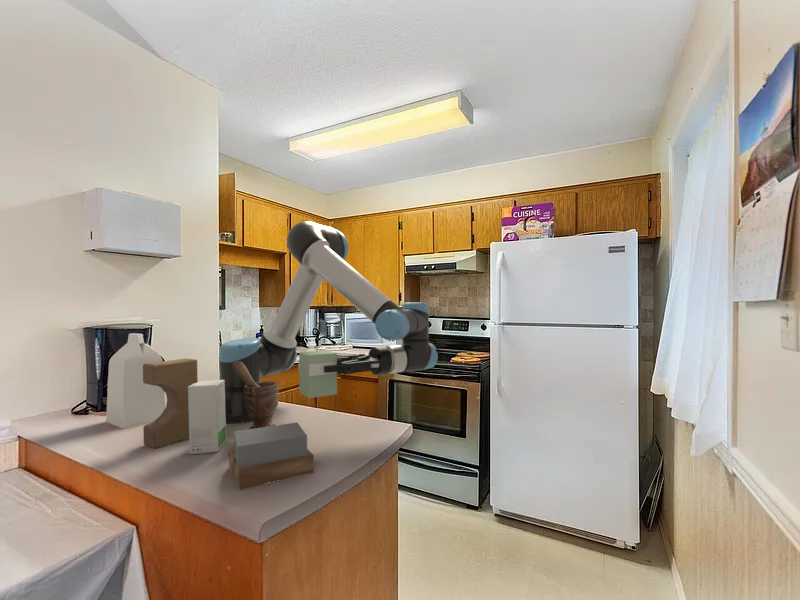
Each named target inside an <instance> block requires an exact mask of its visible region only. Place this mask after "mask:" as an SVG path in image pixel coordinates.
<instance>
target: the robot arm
mask: <svg viewBox="0 0 800 600" xmlns="http://www.w3.org/2000/svg"><path fill="white" fill-rule="evenodd" d="M286 246H287V249H288V251H289V253H290V254H291V256H292V257H293V258H294V259H295V260H296V261H297V262H298V265H299V266H298V267H297V271H296V272H295V275H294V277H293V279H292V282H291V283H290V285H289V287H288V290H287V292H286V293H285V296H284V298H283V300H282V302H281V304H280V307H279V309H278V311H277V313H276V316H275V318H274V320H273V323H272V325H271V326H270V328H266V329H265V330H263V333H262V334H261V337H260V339H259V338H257V337H244V338H238V339H237V338H236V339H232V340H228V341H226V342H223V343H222V344H221V345H220V348H219V356H218V361H219V363H218V364H219V369H218V370H219V380H225V410H226V424H238V423H247V422H251V421H253V419H252V418H251V417H250V416H249V415H248V413H247V412H248V411H247V408H246V406H245V400H244V386H245V385H246V383H245V382H244V381H243V380H242V379H241V378H240V377H239V376H238V375H237V374H236V373H235V372H234V370H233V368H232V365H233V363H234V362H236V361H241V362H243V363H244V365H245V366H246V368H247V369H248V371H249V373H250V375H251V377H252V378H253V380H254V381H255V383H256V382H262V381H261V378H263V377H264V378H265V377H267V376H268V377H269V376H272V375H278V374H281V373H284V372H286V371H288V370H290V369H291V368H292V367H293V366H294V365H295V363H296V361H298V365H297V366H298V370H297V371H298V372H299V359H298V360H297V358H298V352H297V346H298V345H297V344H298V342H297V340H296V337H297V334H298V333H299V330H300V328H301V326H302V324H303V321H304V319H305V318H306V316H307V314H308V312H309V309H310V308H311V306H312V304H313V301H314V300H315V297H316V295H317V293H318V292H319V289H320V288H321V285H322V283H323V281H325V282H326V283H328V284H329V285H330V286H331V287H332V288H333V289H335V290H336V291H337V292H338V293H339V294H340V295H341V296H342V297H343V298H345V299H346V300H347V301H348V302H349V303H350V304H351V305H353V306H354V307H355V308H356V310H359V312H360V313H362V314H363V315H364V317H365V318H367V319H368V320H370V321H371V322H372V323H373V324H374V325H375V330H376V332H377V334H378V336H379V337H380V338H382V339H383V340H387V341H400V340H401V341H402V344H393V345H385V346H384V345H382V346H373V347H371V348H370V349H369V352H368V354H366V353H359V354H356V353H353V354H348V355H347V354H346V355H337V365H336V362H327V363H316V364H309V376H317V375H326V374H335V373H336V372H337V374H343V375H351V374H357V373H364V372H366V373H367V372H371V373H372V374H373V375H374V376H382V375H388V374H389V375H390V374H393V375H395V376H397V374H398V373H405V372H406V373H407V372H415V371H424V370H428V369H432V368H434V367H435V366H436V364H437V363H438V359H439V357H438V355H439V354H438V352H437V347H436V346H435V345H434V344H433V343H430V339H429V335H430V334H429V333H430V331H429V328H430V326H429V324H430V323H429V322H430V321H429V318H430V314H429V305H428V303H427V302H423V301H421V302H419V301H418V302H417V301H416V302H407V301H406V302H403V304H402V305H401V306H402V307H401V306H399V305H397V303H395V302H394V301H393V300H392V299H390V297H388V296H387V295H386V294H384V293H383V291H381V290H380V289H379V288H378V287H376V286H375V285H374V284H373V283H372V282H370V281H369V280H368V279H367V278H366V277H365V276H363V275H362V274H361V273H360V272H359V271H357V270H356V269H355V268H354V267H353V266H351V265H350V264H349V263H348V262H346V261H345V260H346V259H347V256H348V254H349V243H348V240H347V238H346V236H345V235H344V233H343V232H341V231H340V230H339V229H336V228H334V227H332V226H327V225H323V224H320V223H318V222H317V223H316V222H313V221H308V220H306V221H301V222H298V223H296V224H295V225H293V226H292V227H291V228H290V230H289V232H288V233H287V237H286Z"/></svg>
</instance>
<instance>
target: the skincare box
mask: <svg viewBox="0 0 800 600" xmlns="http://www.w3.org/2000/svg"><path fill="white" fill-rule="evenodd" d="M188 405H189V439H188V440H189V441H188V442H189V445H188V446H189V455H200V454H212V453H217V452H219V451H220V450H221V449H222V447H223V445H225V444H226V442H227V423H226V410H225V380H220V379H217V380H215V379H214V380H200V381H199V380H198V382H197V383H194V384H192V385H191V386H188Z"/></svg>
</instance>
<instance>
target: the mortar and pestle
mask: <svg viewBox="0 0 800 600" xmlns="http://www.w3.org/2000/svg"><path fill="white" fill-rule="evenodd" d="M232 368H233V370H234V372H235V373H236V374H237V375H238V376H239V377H240V378H241V379H242V380H243V381H244V382H245V383H246V385H245V386H244V400H245V406H246V408H247V411H248V412H247V413H248V415H249V416H250V417H251V418H252V419H253V420H252V421H253V423H252V425H251V426H250V427H249V428H248V429H255V428H262V427H269V426H276V425H277V424H275V423H274V422H273V421H272V418H273V416H274V415H275V413H276V412H277V408H278V406H279V382H278V381H274V380H273V381H270V380H267V381H265V380H263V381H261V382H256V383H255V381H254V380H253V378H252V377H251V375H250V373H249V371H248V369H247V368H246V366H245V365H244V363H243V362H241V361H236V362H234V363H233V365H232Z"/></svg>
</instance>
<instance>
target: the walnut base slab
mask: <svg viewBox="0 0 800 600" xmlns="http://www.w3.org/2000/svg"><path fill="white" fill-rule="evenodd" d="M228 452H229V453H228V462H229V467H228V468H229V469H230V472H231V474H232V476H233V479H234V480H236V481H235V482H236V484H237V485H236V486H238V487H237V488H238V489H239V491H242V489H243V490H246V488H247V489H251V488H255V487H259V486H263V485H266V484H265V483H267V484H269V483H268V482H271V483H274V482H273V481H275V482H278V481H277V480H279V481H283V480H286V478H287V479H291V478H295V476H296V477H299V475H300V476H302V475H303V476H304V475H308V474H311V472H312V473H314V472H315V468H314V466H315V463H314V454H313V453H312V452H311V451H310V450H309V449H308V448H307V456H301V457H296V458H290V459H285V460H279V461H274V462H268V463H263V464H257V465H252V466H246V467H240V468H237V462H236V456H235V451H234V449H233V450H229V451H228ZM290 477H291V478H290ZM282 479H283V480H282ZM262 484H263V485H262ZM258 485H259V486H258Z"/></svg>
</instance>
